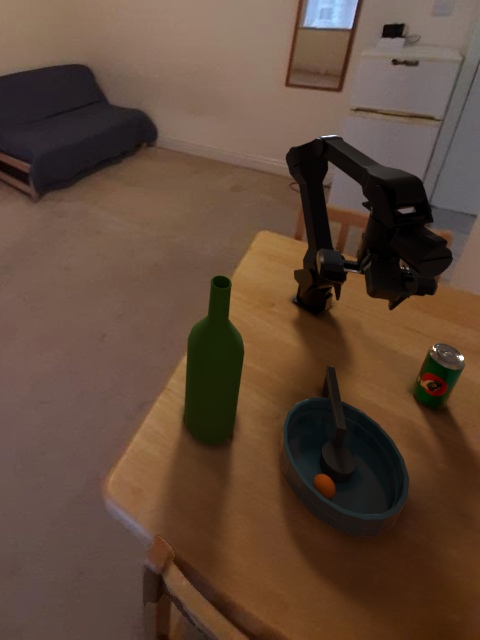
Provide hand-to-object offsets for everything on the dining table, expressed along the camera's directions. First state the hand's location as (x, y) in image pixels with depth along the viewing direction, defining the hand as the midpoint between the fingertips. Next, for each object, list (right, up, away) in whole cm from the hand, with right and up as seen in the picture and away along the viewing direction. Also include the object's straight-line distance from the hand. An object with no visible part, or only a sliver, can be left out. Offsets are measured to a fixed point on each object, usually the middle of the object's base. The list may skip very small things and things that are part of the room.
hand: (363, 303), depth 79 cm
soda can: (+10, -16, -4) cm, 19 cm away
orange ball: (-17, -22, -18) cm, 32 cm away
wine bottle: (-32, -19, -6) cm, 37 cm away
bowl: (-13, -22, -14) cm, 29 cm away
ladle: (-11, -19, -9) cm, 24 cm away
